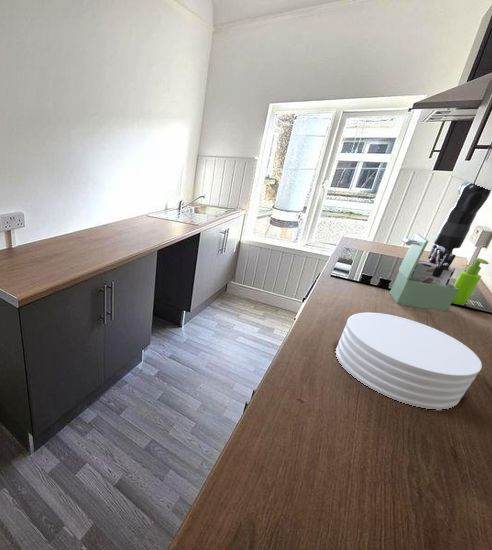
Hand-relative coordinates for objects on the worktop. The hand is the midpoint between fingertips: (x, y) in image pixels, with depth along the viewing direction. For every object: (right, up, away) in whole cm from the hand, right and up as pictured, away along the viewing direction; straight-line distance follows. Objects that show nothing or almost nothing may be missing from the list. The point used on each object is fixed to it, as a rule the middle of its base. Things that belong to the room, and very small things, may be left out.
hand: (432, 273), depth 120 cm
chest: (-1, -12, +6) cm, 14 cm away
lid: (-7, +7, +1) cm, 10 cm away
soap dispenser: (+18, -13, +7) cm, 23 cm away
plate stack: (-47, -29, -34) cm, 65 cm away
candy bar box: (0, -12, +5) cm, 13 cm away
